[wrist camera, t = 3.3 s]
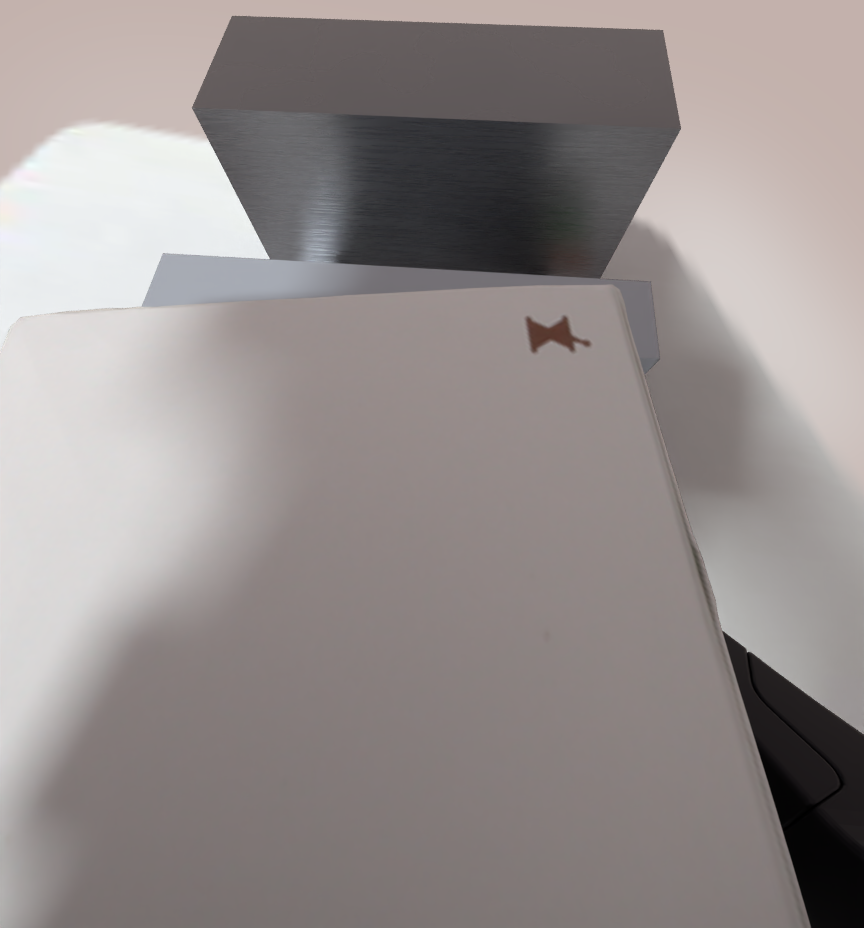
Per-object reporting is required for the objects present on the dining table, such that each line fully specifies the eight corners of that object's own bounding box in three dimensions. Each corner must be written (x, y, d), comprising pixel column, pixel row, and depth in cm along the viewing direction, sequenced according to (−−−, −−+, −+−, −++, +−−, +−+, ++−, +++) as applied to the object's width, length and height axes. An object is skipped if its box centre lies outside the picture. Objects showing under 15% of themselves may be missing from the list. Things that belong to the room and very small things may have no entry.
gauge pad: (568, 502, 15) (793, 367, 6) (320, 482, 15) (134, 324, 6) (567, 467, 16) (774, 288, 6) (326, 449, 16) (162, 253, 6)
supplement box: (322, 516, 16) (1, 286, 4) (490, 508, 16) (645, 258, 4) (311, 714, 13) (-588, 1552, 2) (511, 703, 14) (1040, 1444, 2)
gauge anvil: (561, 514, 16) (745, 415, 6) (286, 491, 16) (78, 367, 7) (556, 300, 19) (671, 31, 10) (329, 286, 20) (231, 15, 10)
